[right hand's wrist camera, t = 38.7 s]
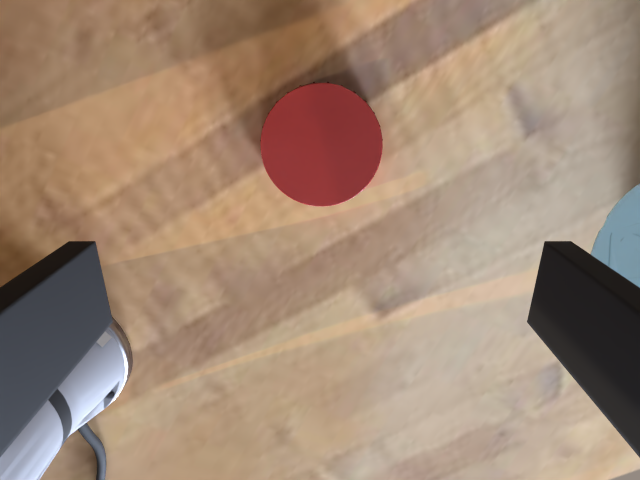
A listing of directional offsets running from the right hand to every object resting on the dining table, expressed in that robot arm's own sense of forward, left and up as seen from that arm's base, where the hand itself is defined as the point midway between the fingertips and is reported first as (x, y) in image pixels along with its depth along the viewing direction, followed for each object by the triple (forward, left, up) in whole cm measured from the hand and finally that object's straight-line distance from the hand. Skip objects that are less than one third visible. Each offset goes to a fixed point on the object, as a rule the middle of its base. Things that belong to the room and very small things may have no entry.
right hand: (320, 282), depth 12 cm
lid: (0, 0, -24) cm, 24 cm away
